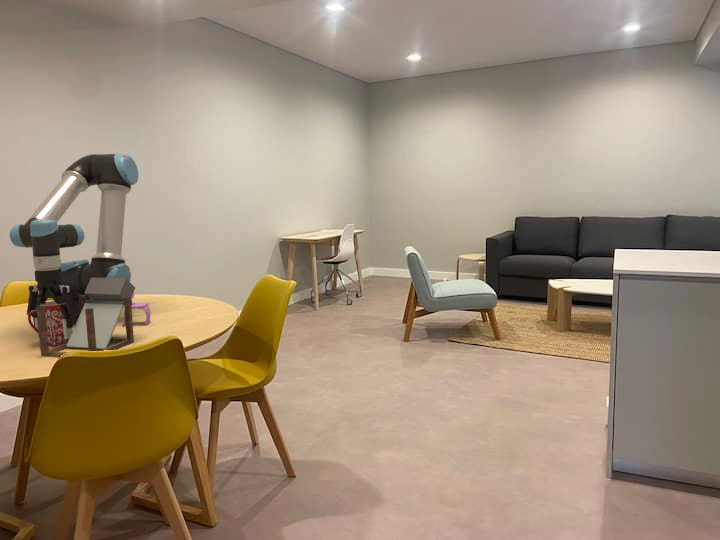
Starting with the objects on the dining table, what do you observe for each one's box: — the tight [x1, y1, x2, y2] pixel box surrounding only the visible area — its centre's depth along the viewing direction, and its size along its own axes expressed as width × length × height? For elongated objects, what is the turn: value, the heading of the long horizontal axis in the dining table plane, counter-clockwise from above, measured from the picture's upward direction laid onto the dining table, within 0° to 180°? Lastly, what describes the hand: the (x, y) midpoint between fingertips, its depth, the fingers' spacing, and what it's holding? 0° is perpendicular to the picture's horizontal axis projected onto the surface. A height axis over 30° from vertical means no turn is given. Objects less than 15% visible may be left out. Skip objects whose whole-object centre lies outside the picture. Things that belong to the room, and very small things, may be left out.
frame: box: [37, 295, 135, 358], centre depth 169 cm, size 18×19×15 cm
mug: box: [27, 300, 70, 347], centre depth 175 cm, size 13×9×14 cm
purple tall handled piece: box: [121, 292, 151, 328], centre depth 201 cm, size 8×9×15 cm
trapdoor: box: [67, 278, 136, 350], centre depth 175 cm, size 14×24×6 cm
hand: (54, 337), depth 175 cm, fingers closed on mug, 10 cm apart
